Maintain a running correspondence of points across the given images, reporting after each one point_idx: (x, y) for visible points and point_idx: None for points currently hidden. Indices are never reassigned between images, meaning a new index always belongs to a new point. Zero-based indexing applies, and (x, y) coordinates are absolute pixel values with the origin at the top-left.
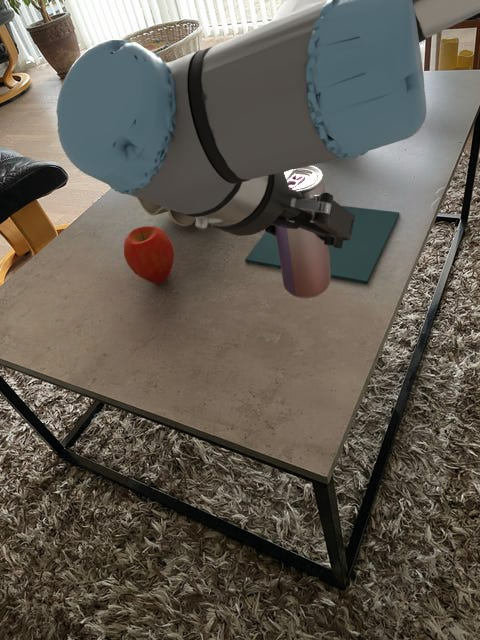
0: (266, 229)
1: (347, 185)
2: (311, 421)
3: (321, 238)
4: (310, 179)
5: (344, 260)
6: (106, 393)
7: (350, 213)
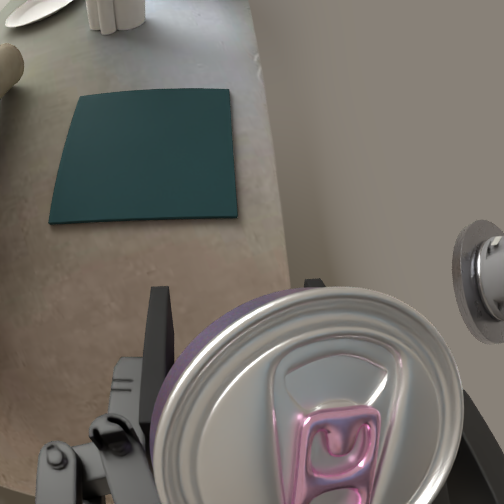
0: None
1: (148, 59)
2: None
3: None
4: (419, 428)
5: (190, 183)
6: (27, 492)
7: (487, 427)
